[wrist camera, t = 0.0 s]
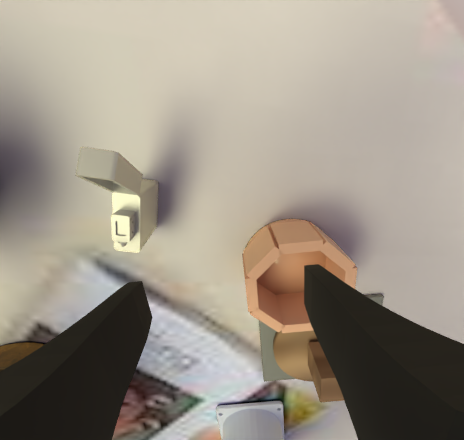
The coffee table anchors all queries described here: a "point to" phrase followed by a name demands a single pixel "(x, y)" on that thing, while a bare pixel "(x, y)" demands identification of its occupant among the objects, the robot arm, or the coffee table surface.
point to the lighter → (123, 196)
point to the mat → (268, 359)
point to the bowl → (288, 271)
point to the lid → (306, 362)
